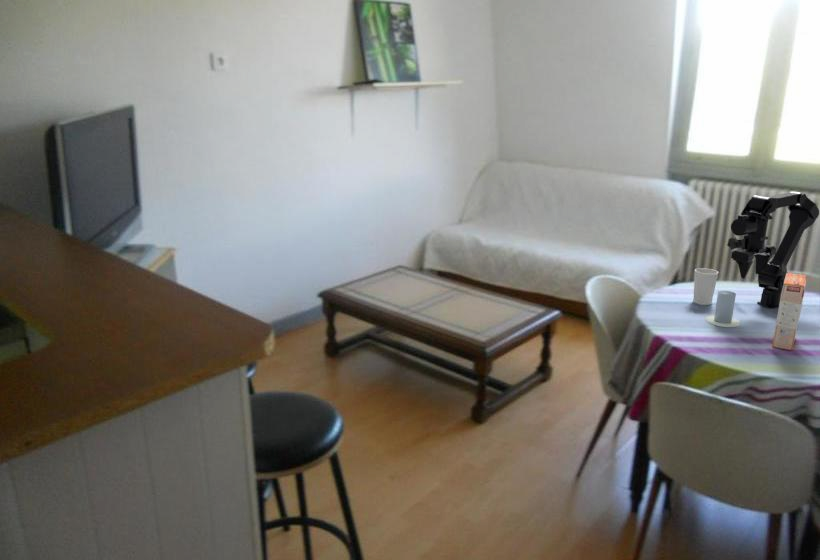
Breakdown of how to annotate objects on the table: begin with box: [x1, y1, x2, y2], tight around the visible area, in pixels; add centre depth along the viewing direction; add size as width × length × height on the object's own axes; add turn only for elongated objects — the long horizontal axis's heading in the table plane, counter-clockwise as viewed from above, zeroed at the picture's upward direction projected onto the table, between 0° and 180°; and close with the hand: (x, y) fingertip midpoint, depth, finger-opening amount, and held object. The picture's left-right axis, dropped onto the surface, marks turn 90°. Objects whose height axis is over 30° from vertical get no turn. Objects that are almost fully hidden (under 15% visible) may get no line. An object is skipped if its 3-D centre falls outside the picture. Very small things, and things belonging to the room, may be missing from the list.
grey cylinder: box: [713, 290, 737, 324], centre depth 222 cm, size 6×6×10 cm
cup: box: [692, 267, 719, 306], centre depth 242 cm, size 8×8×12 cm
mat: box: [704, 315, 741, 328], centre depth 224 cm, size 11×11×1 cm
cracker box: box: [772, 272, 807, 352], centre depth 203 cm, size 14×6×21 cm, turn 148°
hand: (750, 276), depth 230 cm, fingers open, 9 cm apart
